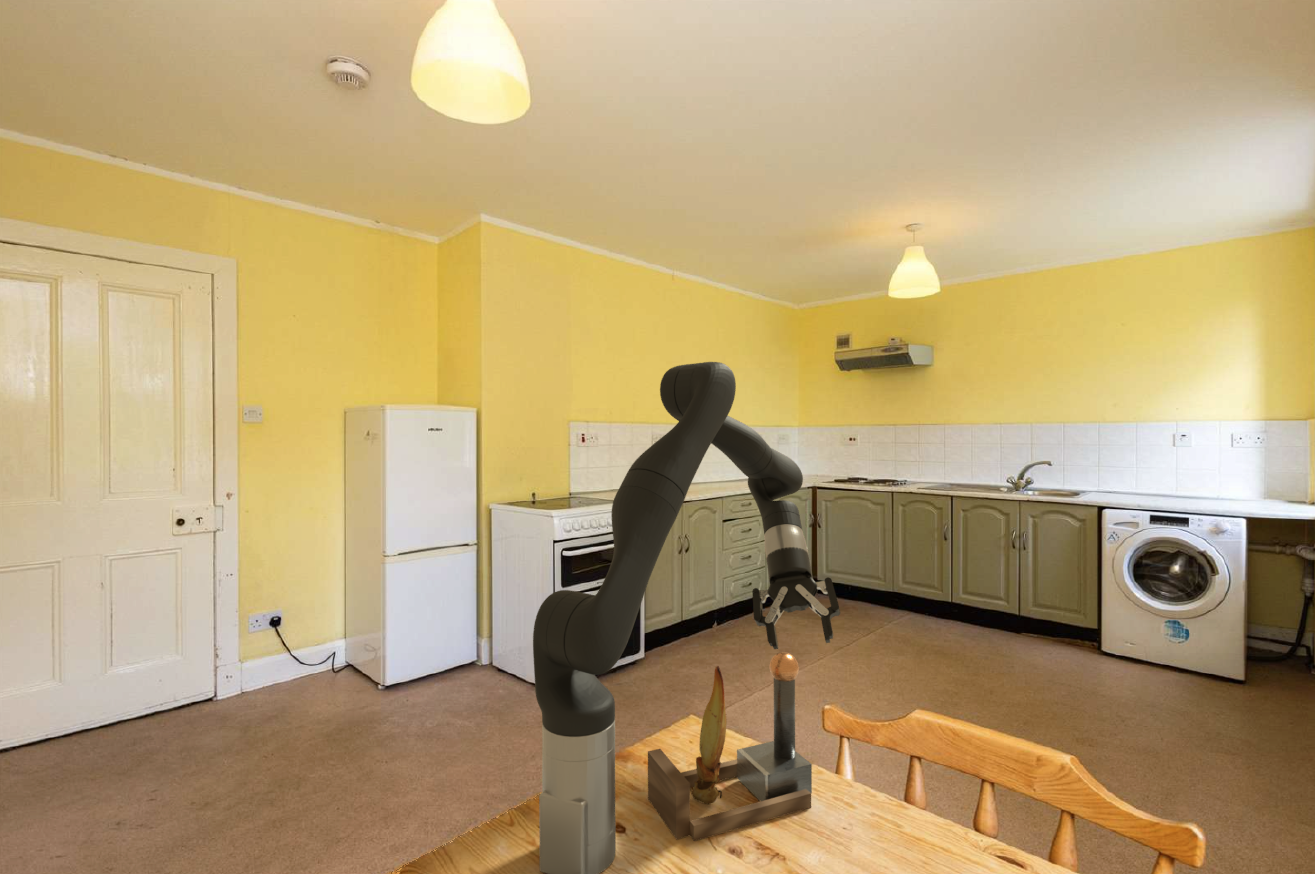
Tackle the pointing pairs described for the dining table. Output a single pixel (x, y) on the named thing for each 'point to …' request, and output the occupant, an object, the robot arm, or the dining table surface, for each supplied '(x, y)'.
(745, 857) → the dining table surface
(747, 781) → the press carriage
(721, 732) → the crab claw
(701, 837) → the frame
